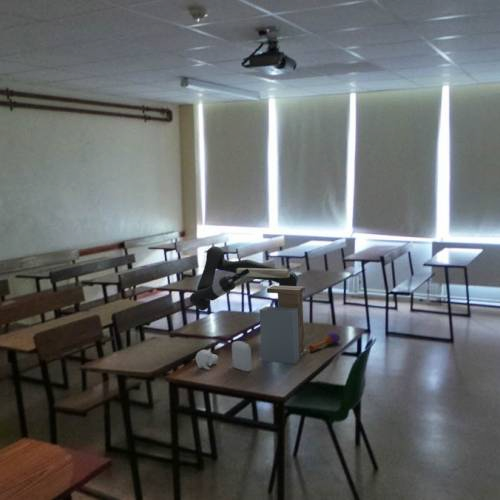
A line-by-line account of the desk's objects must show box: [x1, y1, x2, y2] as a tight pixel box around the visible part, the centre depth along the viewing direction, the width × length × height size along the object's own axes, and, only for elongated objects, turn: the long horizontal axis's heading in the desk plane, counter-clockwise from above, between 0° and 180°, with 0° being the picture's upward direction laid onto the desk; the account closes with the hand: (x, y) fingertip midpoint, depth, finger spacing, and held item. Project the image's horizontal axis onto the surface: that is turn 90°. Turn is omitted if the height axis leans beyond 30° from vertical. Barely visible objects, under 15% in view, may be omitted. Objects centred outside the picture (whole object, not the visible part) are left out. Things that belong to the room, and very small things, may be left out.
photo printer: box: [231, 340, 253, 372], centre depth 248 cm, size 10×4×12 cm, turn 39°
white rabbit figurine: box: [194, 349, 219, 371], centre depth 253 cm, size 6×8×12 cm
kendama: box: [308, 331, 341, 353], centre depth 275 cm, size 6×6×20 cm
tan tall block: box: [266, 285, 308, 359], centre depth 265 cm, size 8×16×32 cm, turn 65°
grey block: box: [259, 306, 301, 365], centre depth 256 cm, size 7×16×24 cm, turn 65°
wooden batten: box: [236, 268, 290, 278], centre depth 266 cm, size 4×26×4 cm, turn 65°
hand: (250, 269), depth 269 cm, fingers closed on wooden batten, 3 cm apart
